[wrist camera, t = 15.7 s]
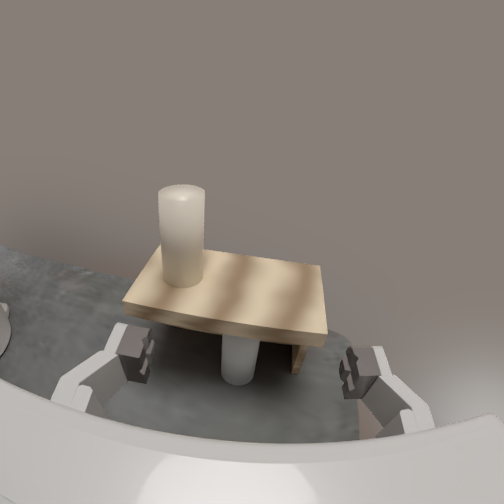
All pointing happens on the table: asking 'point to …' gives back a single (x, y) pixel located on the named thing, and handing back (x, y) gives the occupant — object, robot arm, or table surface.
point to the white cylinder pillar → (238, 359)
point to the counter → (238, 300)
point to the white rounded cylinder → (182, 234)
